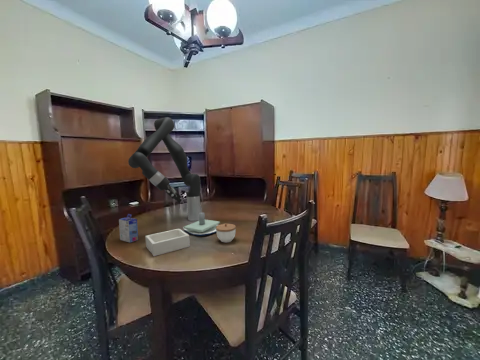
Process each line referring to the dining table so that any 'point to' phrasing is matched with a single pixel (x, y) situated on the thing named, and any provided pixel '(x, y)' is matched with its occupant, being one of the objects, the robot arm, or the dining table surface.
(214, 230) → the plate
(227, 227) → the lidded jar
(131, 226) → the ink cartridge box
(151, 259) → the dining table surface
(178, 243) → the open box
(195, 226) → the lid
